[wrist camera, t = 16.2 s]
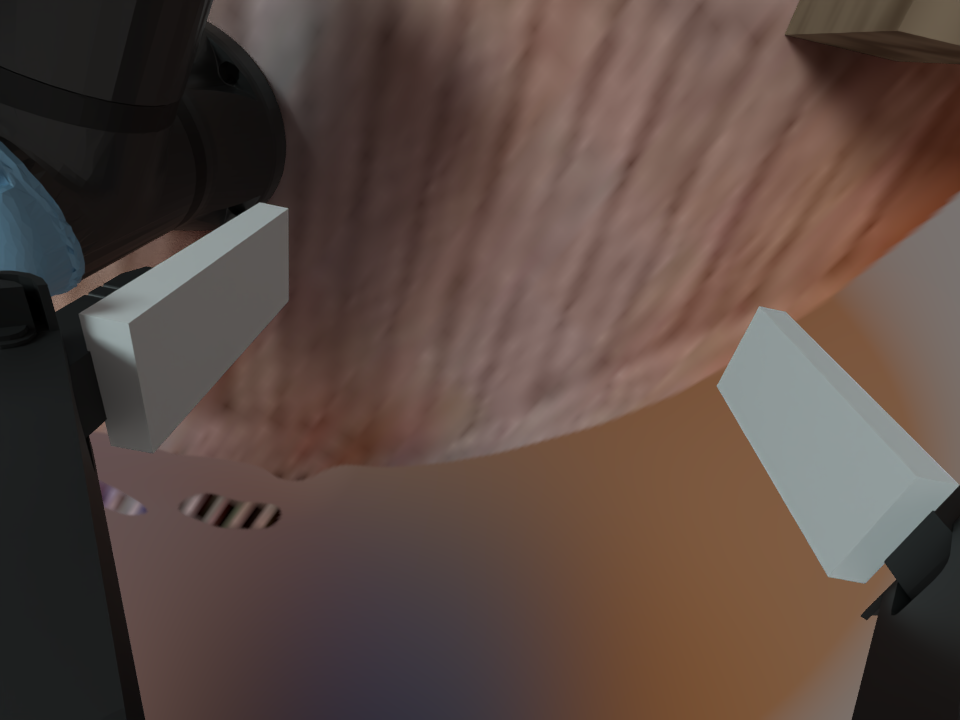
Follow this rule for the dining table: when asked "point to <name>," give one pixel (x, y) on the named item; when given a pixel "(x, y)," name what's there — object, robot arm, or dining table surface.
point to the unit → (883, 27)
